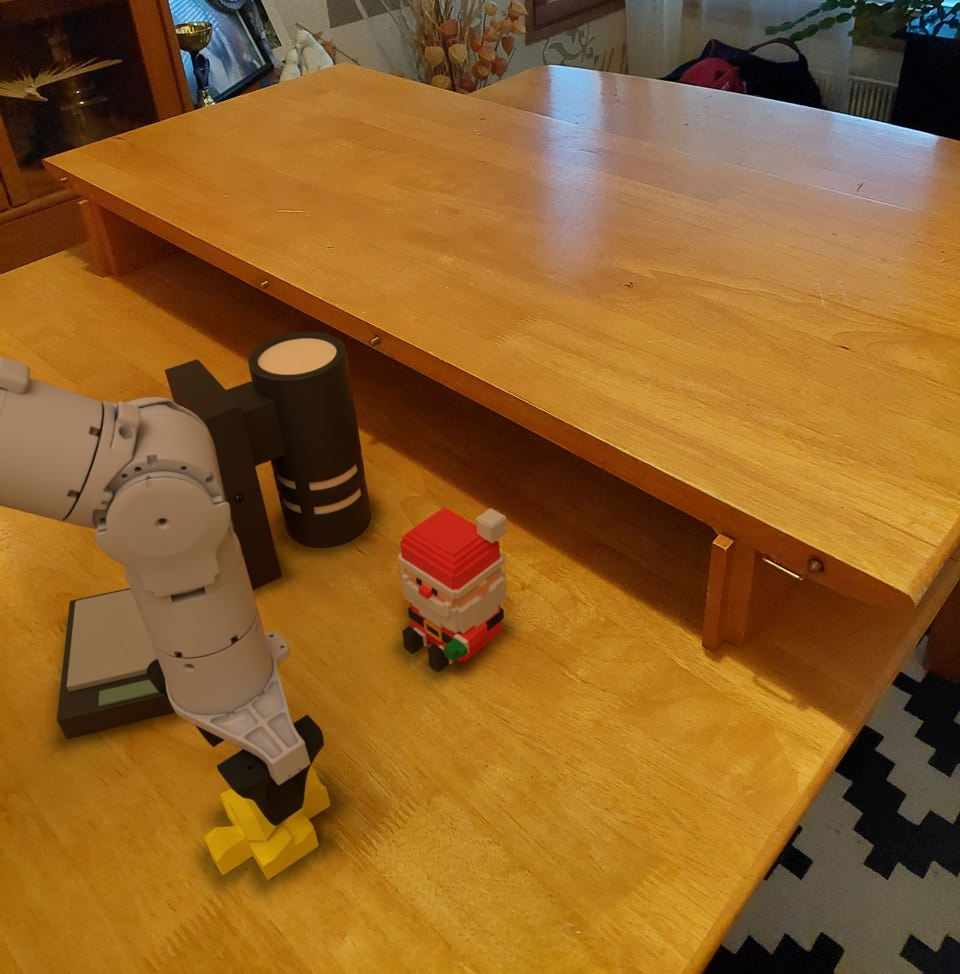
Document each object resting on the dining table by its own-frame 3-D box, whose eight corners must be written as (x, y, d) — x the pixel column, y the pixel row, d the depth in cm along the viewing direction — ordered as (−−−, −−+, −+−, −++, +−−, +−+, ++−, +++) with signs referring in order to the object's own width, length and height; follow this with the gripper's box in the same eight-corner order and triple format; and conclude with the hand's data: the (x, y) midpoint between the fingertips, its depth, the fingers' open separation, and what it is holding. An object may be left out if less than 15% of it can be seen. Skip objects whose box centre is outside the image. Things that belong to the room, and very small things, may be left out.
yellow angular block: (198, 834, 62) (169, 763, 57) (303, 769, 65) (284, 697, 61) (237, 900, 58) (209, 829, 53) (346, 827, 62) (329, 755, 57)
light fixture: (391, 529, 86) (367, 361, 75) (253, 592, 80) (206, 419, 69) (342, 479, 92) (314, 318, 82) (212, 534, 87) (163, 368, 76)
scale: (216, 703, 71) (208, 678, 69) (65, 739, 68) (53, 714, 67) (209, 590, 81) (201, 566, 79) (77, 619, 79) (67, 595, 77)
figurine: (385, 635, 75) (367, 521, 68) (447, 589, 79) (436, 476, 72) (460, 688, 70) (449, 572, 63) (521, 637, 74) (518, 522, 67)
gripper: (341, 654, 47) (373, 809, 55) (207, 522, 56) (252, 673, 64) (216, 731, 43) (270, 885, 52) (95, 578, 52) (158, 730, 61)
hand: (254, 772), depth 58 cm, fingers open, 7 cm apart
